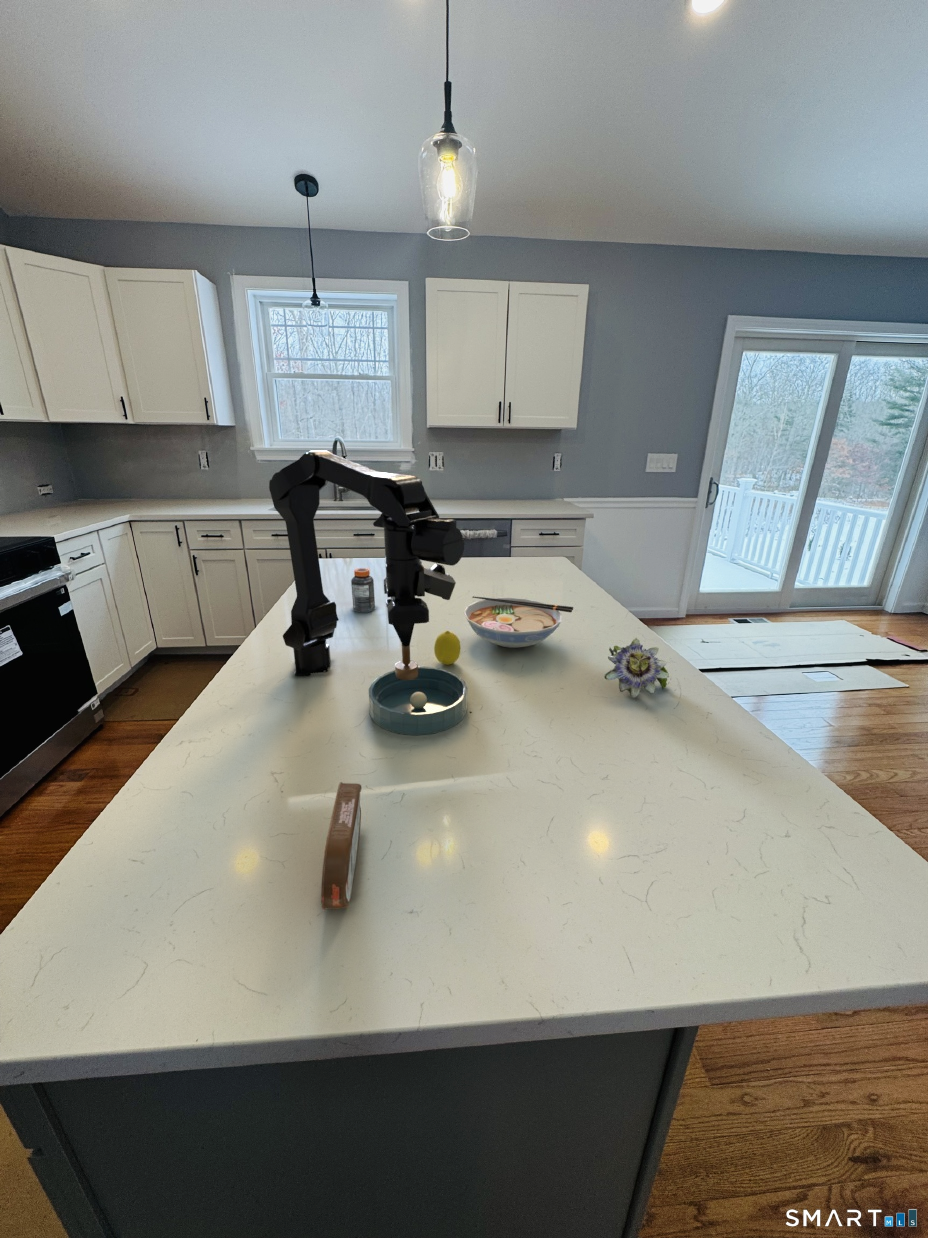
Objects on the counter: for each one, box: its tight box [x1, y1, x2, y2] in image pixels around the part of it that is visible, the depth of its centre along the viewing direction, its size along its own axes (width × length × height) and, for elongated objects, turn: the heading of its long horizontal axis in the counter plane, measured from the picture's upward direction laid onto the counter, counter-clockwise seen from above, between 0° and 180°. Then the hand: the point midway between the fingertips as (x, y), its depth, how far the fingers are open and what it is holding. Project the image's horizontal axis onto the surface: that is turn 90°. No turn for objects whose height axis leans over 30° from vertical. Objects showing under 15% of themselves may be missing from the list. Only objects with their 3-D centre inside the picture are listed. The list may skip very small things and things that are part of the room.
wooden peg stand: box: [394, 644, 419, 680], centre depth 88 cm, size 4×4×11 cm
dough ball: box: [410, 692, 427, 709], centre depth 90 cm, size 3×3×3 cm
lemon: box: [433, 630, 461, 666], centre depth 107 cm, size 6×6×8 cm
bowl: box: [368, 666, 468, 736], centre depth 90 cm, size 17×17×4 cm
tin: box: [320, 781, 362, 911], centre depth 57 cm, size 15×3×8 cm, turn 5°
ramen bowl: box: [463, 595, 574, 649], centre depth 119 cm, size 25×23×8 cm
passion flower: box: [603, 637, 670, 699], centre depth 100 cm, size 11×11×12 cm
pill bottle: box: [350, 567, 376, 613], centre depth 138 cm, size 6×6×11 cm
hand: (405, 644), depth 88 cm, fingers closed on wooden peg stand
